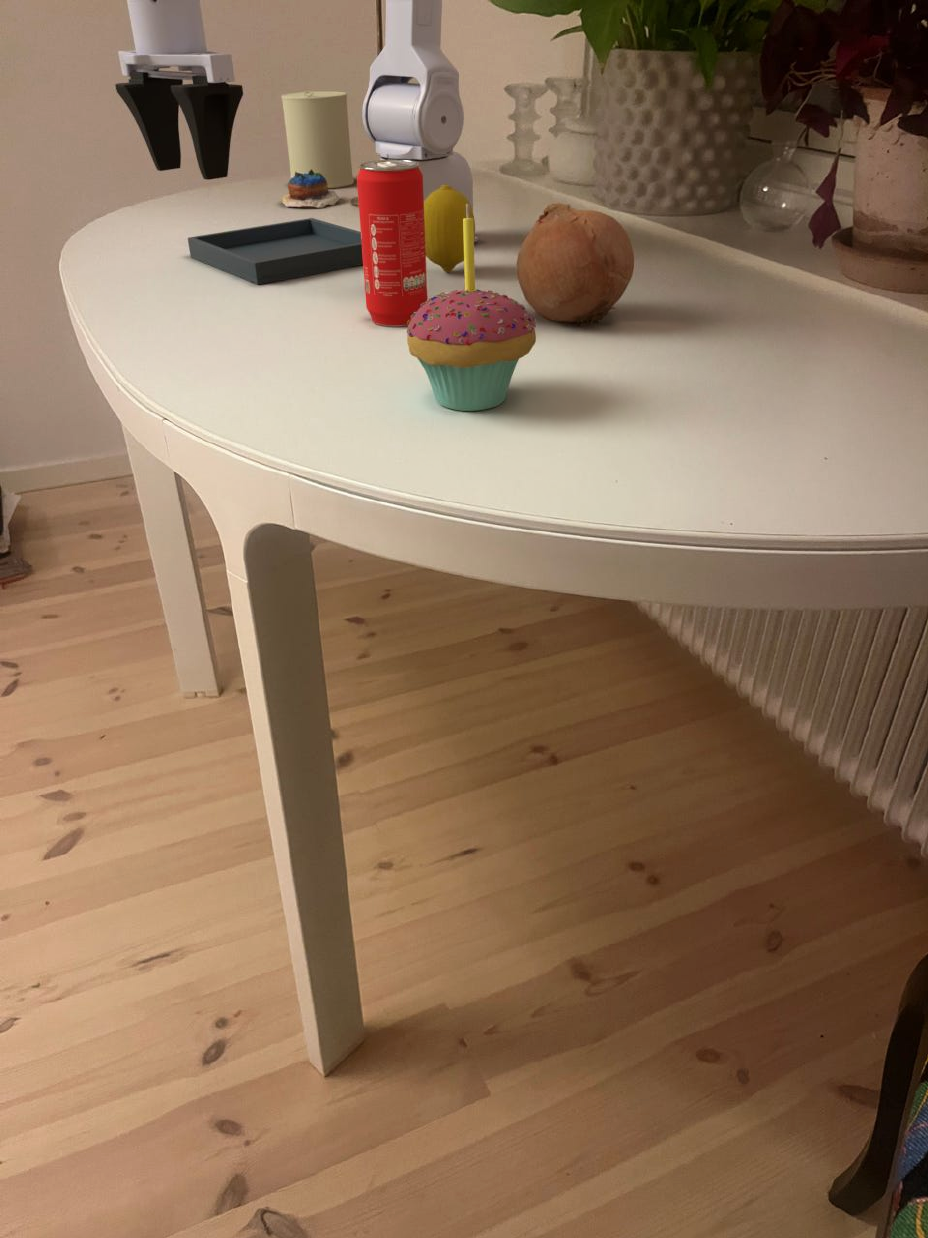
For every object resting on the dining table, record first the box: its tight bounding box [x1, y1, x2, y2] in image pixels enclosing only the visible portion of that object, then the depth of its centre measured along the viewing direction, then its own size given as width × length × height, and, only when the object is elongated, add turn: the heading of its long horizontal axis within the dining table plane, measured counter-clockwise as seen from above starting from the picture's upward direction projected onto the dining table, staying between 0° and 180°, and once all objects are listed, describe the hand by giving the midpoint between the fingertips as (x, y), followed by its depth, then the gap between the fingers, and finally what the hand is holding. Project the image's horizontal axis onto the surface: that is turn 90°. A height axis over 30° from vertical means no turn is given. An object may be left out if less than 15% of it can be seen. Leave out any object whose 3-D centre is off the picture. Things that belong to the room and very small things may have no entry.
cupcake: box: [406, 204, 537, 412], centre depth 61 cm, size 9×8×12 cm
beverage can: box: [356, 159, 429, 328], centre depth 77 cm, size 5×5×12 cm
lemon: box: [424, 184, 476, 273], centre depth 91 cm, size 6×6×8 cm
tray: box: [187, 217, 363, 286], centre depth 99 cm, size 15×15×2 cm
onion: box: [516, 202, 635, 327], centre depth 77 cm, size 10×9×10 cm
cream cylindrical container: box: [281, 90, 355, 190], centre depth 135 cm, size 9×9×12 cm
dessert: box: [282, 169, 340, 209], centre depth 125 cm, size 8×7×6 cm
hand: (191, 173), depth 83 cm, fingers open, 7 cm apart
